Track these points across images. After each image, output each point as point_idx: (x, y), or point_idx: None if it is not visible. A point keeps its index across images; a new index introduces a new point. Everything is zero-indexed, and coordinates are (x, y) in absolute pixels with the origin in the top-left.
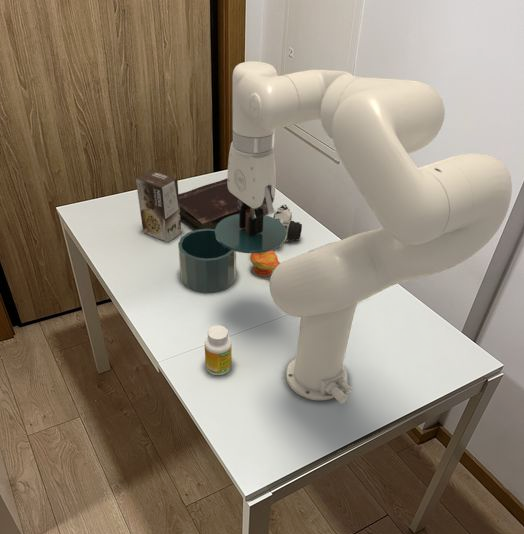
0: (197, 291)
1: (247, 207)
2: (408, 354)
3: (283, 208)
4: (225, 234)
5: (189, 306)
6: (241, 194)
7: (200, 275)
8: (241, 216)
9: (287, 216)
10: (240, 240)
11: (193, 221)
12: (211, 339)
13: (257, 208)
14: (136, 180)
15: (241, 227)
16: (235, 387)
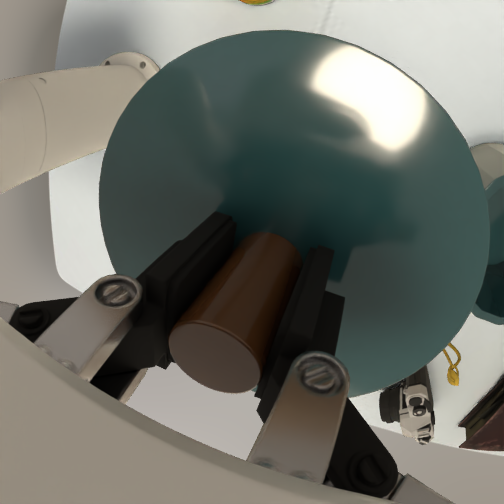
0: (481, 144)
1: (266, 388)
2: (96, 239)
3: (423, 437)
4: (365, 128)
5: (460, 85)
6: (13, 466)
7: (490, 157)
8: (295, 299)
9: (404, 426)
10: (236, 138)
11: None
12: None
13: (479, 418)
14: None
15: (313, 248)
16: None
